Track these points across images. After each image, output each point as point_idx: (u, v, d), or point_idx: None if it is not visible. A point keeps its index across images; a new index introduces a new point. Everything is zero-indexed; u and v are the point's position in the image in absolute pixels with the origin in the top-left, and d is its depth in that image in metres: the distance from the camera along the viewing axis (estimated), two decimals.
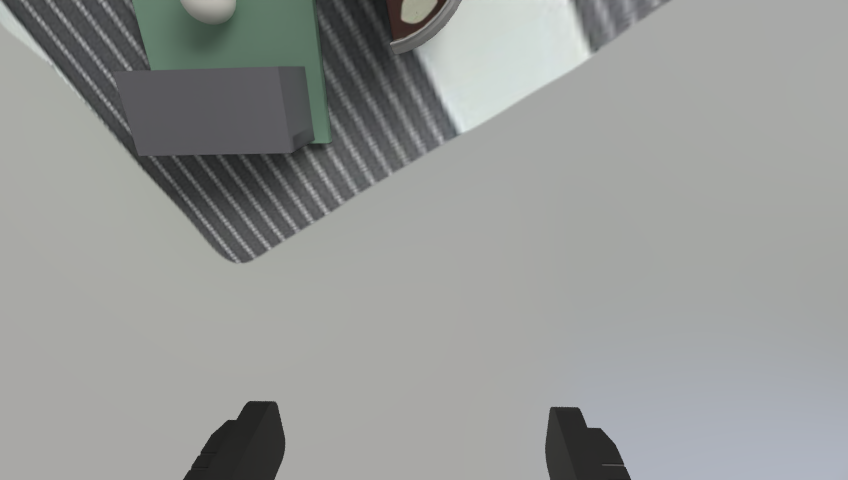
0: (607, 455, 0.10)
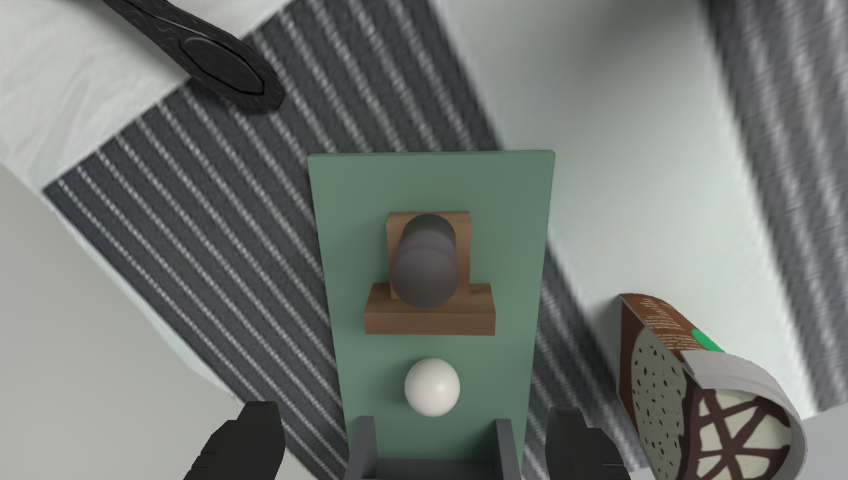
0: (607, 455, 0.10)
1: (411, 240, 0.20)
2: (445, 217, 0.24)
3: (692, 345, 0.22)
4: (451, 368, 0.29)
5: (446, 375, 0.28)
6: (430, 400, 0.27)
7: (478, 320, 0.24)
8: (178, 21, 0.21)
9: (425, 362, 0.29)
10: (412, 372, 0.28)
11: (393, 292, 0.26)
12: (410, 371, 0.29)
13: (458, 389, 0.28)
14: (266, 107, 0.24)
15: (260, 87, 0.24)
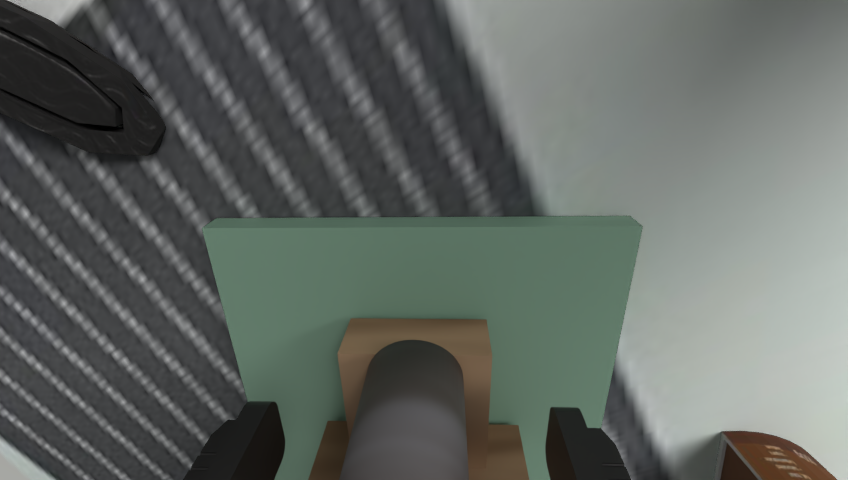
0: (607, 455, 0.10)
1: (373, 436, 0.10)
2: (445, 337, 0.14)
3: None
4: None
5: None
6: None
7: None
8: None
9: None
10: None
11: None
12: None
13: None
14: (131, 151, 0.14)
15: (115, 117, 0.13)
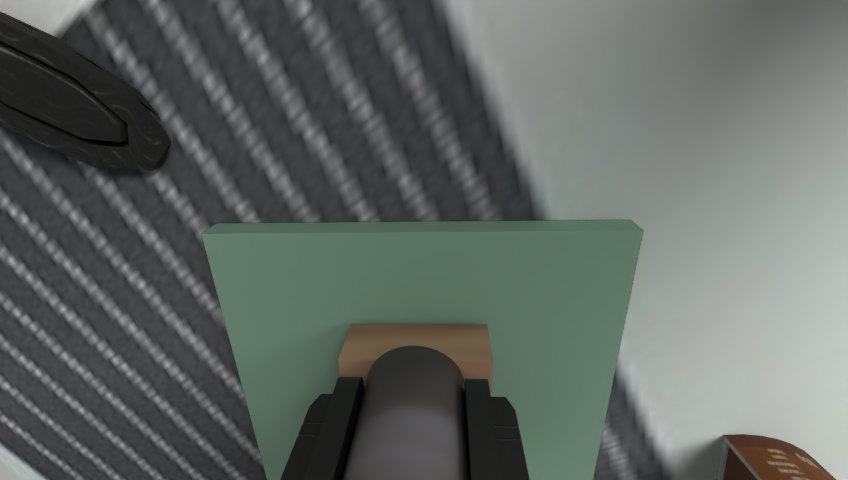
0: (505, 419, 0.11)
1: (374, 444, 0.10)
2: (445, 342, 0.14)
3: None
4: None
5: None
6: None
7: None
8: None
9: None
10: None
11: None
12: None
13: None
14: (136, 166, 0.14)
15: (120, 133, 0.13)
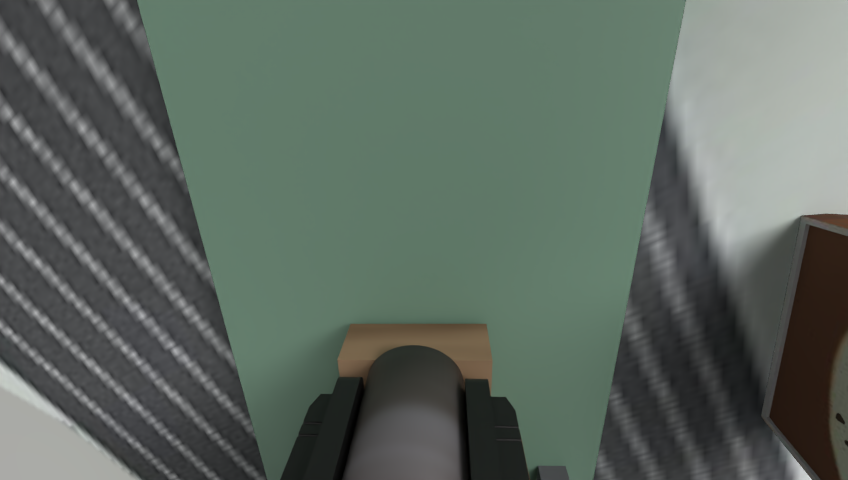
0: (505, 419, 0.11)
1: (374, 442, 0.10)
2: (445, 342, 0.14)
3: None
4: None
5: None
6: None
7: None
8: None
9: None
10: None
11: None
12: None
13: None
14: None
15: None
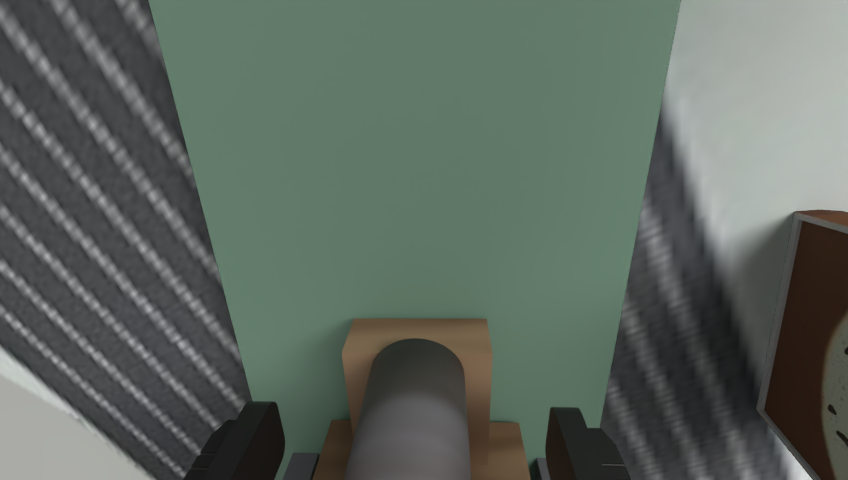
0: (607, 455, 0.10)
1: (377, 430, 0.10)
2: (446, 336, 0.14)
3: None
4: None
5: None
6: None
7: None
8: None
9: None
10: None
11: None
12: None
13: None
14: None
15: None
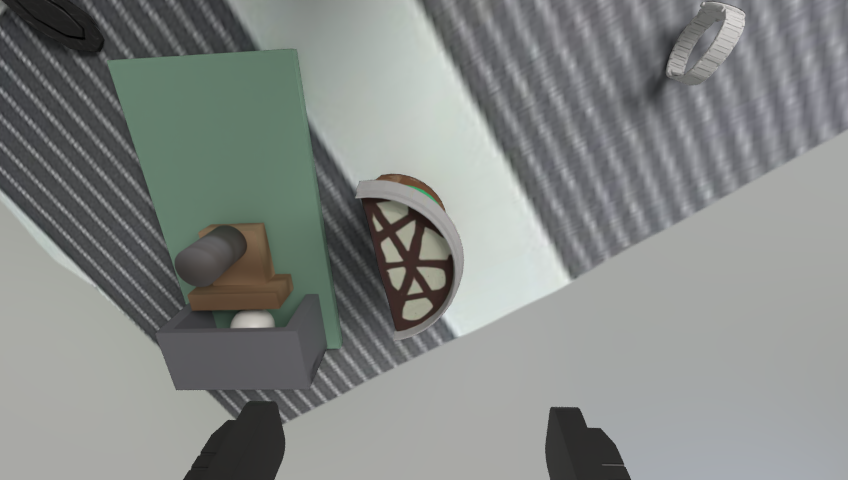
0: (607, 455, 0.10)
1: (193, 243, 0.31)
2: (242, 227, 0.35)
3: None
4: None
5: None
6: None
7: (265, 298, 0.35)
8: None
9: None
10: None
11: (213, 281, 0.36)
12: None
13: (274, 325, 0.39)
14: (88, 49, 0.32)
15: (81, 33, 0.31)
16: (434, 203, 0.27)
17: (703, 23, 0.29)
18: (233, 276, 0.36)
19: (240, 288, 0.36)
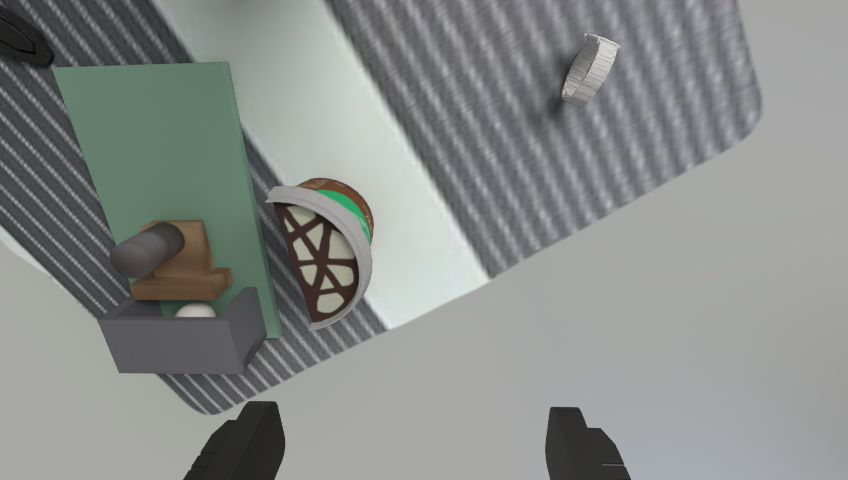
0: (607, 455, 0.10)
1: (129, 238, 0.34)
2: (181, 224, 0.38)
3: None
4: None
5: None
6: None
7: (201, 289, 0.38)
8: None
9: None
10: None
11: (155, 273, 0.39)
12: None
13: None
14: (39, 62, 0.35)
15: (32, 48, 0.34)
16: (341, 208, 0.30)
17: (592, 50, 0.32)
18: (173, 269, 0.39)
19: (179, 280, 0.39)
